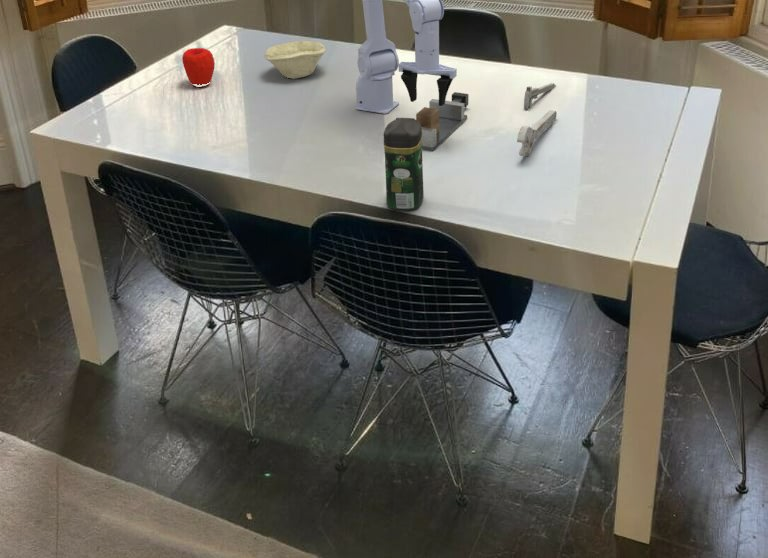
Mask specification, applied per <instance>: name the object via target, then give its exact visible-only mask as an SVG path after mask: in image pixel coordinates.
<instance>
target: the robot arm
mask: <svg viewBox="0 0 768 558" xmlns="http://www.w3.org/2000/svg"><path fill="white" fill-rule="evenodd" d="M403 1H404V2H405V4H406V5H407V7H408V8H409V9H408V11H409V12H408V13H409V16H410V20H411V24H412V25H411V26H412V30H413V31H414V56H415V57H414V61H400V60H399V56H398V53H397V48H396V44H395V43H394V42H393V41H391V40H389V39H388V38H387V33H386V32H387V31H386V25H385V22H386V21H385V14H384V5H383V0H362V1H361V2H362V7H363V8H362V9H363V17H364V25H365V35H366V40H365V41H364V42H363V43H362V44H361V45H360V46H359V47H358V49H357V55H358V56H357V67H358V72H359V73H360V74H359V75H358V77H357V79H356V84H355V91H356V95H355V96H356V107H355V110H359V111H363V112H364V111H365V112H372V113H378V114H388V113H390V112H392V110H393V109H395V108H397V106H399V105H400V101H394V89H393V85H394V84H393V77H394V76H395V75H396V72H397V71H398V72H399V73H402V74H401V75H400V79H401V80H402V82H403V83H404V85H405V88H406V90H407V92H408V96H409V99H410V102H412V103H414V102H415V101H416V100H417V98H418V97H417V95H418V91H417V89H418V88H417V84H418V83H417V82H418V75H431V76H438V77H439V78H437V79H436V83H437V84H436V85H437V88H438V89H437V90H438V100H439V106H443V105H444V104H445V101H446V100H447V99H446V98H447V95H448V91H449V89H450V87H451V84H452V82H453V80H454V79H455V78H456V77H457V68H454V67H451V66H447V65H443V64H440V21H441V20H442V19H443V18H444V14H445V8H444V3H443V1H442V0H403Z"/></svg>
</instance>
